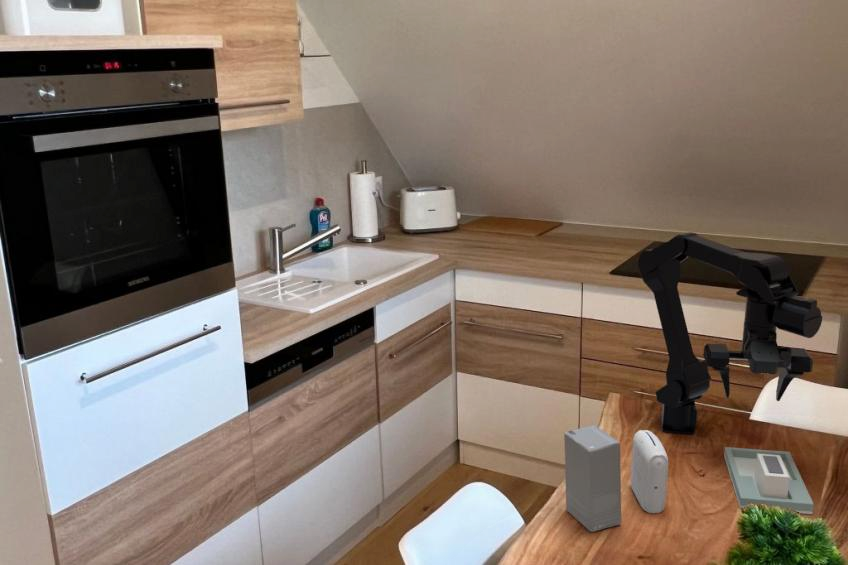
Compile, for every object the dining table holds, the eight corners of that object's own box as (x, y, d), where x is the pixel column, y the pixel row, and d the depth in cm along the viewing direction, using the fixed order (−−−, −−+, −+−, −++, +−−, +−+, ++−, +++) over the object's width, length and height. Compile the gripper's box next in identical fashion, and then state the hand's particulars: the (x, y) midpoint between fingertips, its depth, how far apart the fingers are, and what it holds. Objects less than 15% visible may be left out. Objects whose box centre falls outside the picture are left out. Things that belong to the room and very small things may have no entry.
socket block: (762, 502, 146) (765, 474, 144) (754, 479, 153) (757, 452, 152) (786, 504, 145) (789, 476, 144) (776, 481, 153) (780, 454, 151)
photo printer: (667, 513, 144) (672, 450, 141) (643, 514, 144) (647, 451, 140) (650, 483, 154) (654, 423, 150) (627, 484, 154) (631, 424, 150)
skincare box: (621, 525, 141) (626, 442, 136) (586, 535, 138) (590, 451, 134) (594, 501, 148) (598, 421, 144) (560, 509, 146) (563, 429, 141)
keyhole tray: (740, 507, 145) (741, 498, 145) (724, 455, 163) (725, 446, 163) (812, 514, 143) (813, 504, 143) (788, 460, 161) (789, 451, 160)
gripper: (714, 334, 148) (707, 413, 152) (825, 340, 144) (814, 420, 149) (706, 314, 158) (699, 389, 163) (809, 319, 155) (800, 395, 159)
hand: (752, 398), depth 158 cm, fingers open, 9 cm apart
